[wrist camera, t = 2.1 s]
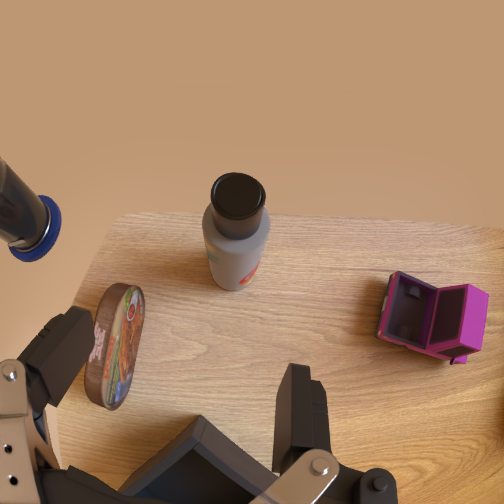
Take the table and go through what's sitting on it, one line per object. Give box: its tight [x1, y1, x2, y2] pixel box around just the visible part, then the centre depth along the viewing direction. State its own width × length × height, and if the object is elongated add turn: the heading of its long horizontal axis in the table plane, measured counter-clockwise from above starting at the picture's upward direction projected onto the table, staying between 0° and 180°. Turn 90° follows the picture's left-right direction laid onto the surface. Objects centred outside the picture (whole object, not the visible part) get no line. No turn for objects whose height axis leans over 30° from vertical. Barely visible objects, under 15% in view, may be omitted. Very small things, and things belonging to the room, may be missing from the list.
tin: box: [84, 283, 145, 411], centre depth 31 cm, size 15×3×8 cm, turn 170°
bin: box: [117, 415, 279, 504], centre depth 25 cm, size 14×14×10 cm
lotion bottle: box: [202, 172, 270, 291], centre depth 30 cm, size 6×6×20 cm
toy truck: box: [375, 271, 489, 365], centre depth 34 cm, size 11×16×10 cm
